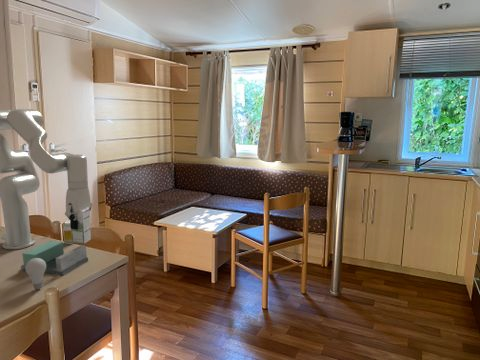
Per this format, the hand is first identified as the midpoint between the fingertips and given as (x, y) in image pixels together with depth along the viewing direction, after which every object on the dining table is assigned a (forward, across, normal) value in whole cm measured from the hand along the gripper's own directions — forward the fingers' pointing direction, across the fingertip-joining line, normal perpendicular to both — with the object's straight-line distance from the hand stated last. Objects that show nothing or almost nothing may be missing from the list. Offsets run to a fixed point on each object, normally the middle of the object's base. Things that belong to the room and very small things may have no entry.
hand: (80, 226), depth 154 cm
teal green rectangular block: (+10, +14, -6) cm, 18 cm away
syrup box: (+7, 0, 0) cm, 7 cm away
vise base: (+12, +14, 0) cm, 18 cm away
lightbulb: (+12, +32, +8) cm, 35 cm away
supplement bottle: (+12, -9, -13) cm, 20 cm away
